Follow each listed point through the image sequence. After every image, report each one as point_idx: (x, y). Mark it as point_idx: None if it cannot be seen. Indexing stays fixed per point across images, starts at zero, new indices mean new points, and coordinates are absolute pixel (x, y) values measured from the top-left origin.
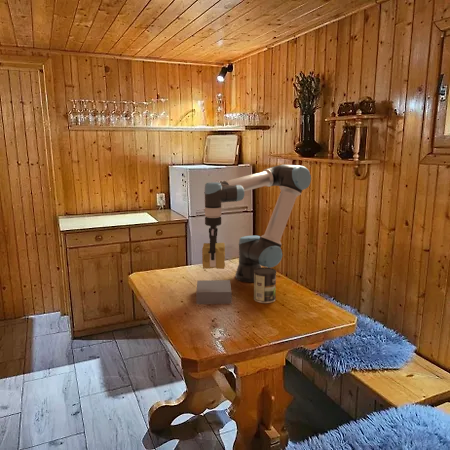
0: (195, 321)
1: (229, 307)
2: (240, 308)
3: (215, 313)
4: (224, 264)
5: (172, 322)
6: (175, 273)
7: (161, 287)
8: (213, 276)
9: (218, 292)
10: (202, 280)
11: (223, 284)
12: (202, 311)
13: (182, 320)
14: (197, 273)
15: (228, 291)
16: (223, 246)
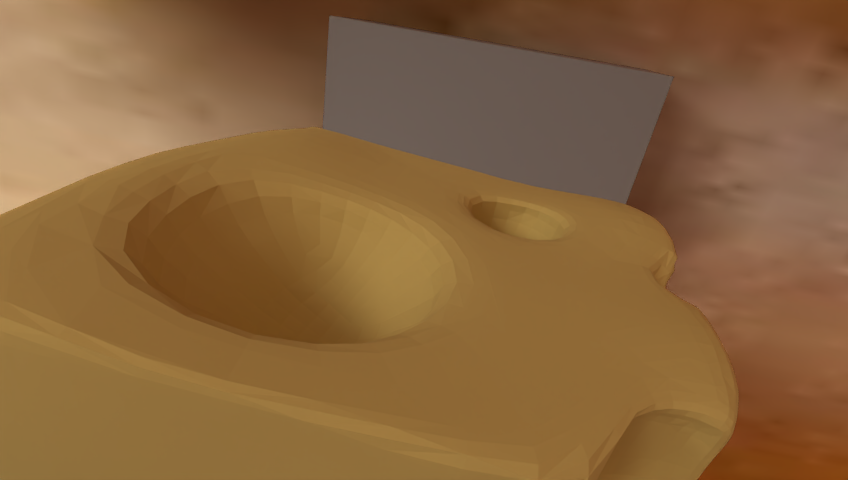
0: (835, 373)
1: (717, 105)
2: (786, 12)
3: (778, 233)
4: (667, 234)
5: (774, 471)
6: None
7: None
8: (64, 88)
9: (624, 200)
10: None
11: (443, 110)
12: (698, 303)
13: (776, 427)
14: (25, 188)
15: (650, 105)
16: (468, 476)
